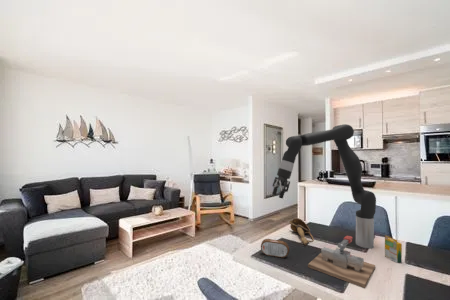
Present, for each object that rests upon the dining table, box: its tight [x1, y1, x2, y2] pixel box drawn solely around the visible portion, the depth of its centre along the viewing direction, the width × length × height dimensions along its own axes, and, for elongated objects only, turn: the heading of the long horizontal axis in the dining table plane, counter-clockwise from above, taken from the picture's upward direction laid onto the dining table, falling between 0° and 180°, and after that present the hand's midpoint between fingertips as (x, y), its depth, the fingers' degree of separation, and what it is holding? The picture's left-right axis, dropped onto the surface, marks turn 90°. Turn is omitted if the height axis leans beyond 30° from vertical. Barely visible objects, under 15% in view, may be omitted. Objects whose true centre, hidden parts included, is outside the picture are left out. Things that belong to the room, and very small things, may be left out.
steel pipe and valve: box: [320, 246, 365, 272], centre depth 109 cm, size 6×18×6 cm, turn 47°
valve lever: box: [337, 235, 353, 252], centre depth 113 cm, size 15×3×4 cm, turn 137°
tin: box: [260, 238, 290, 259], centre depth 121 cm, size 15×3×8 cm, turn 71°
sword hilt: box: [289, 217, 315, 246], centre depth 146 cm, size 10×24×15 cm
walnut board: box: [307, 252, 376, 289], centre depth 109 cm, size 22×24×2 cm
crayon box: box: [384, 235, 403, 264], centre depth 117 cm, size 7×3×12 cm, turn 11°
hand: (277, 196), depth 128 cm, fingers open, 8 cm apart
